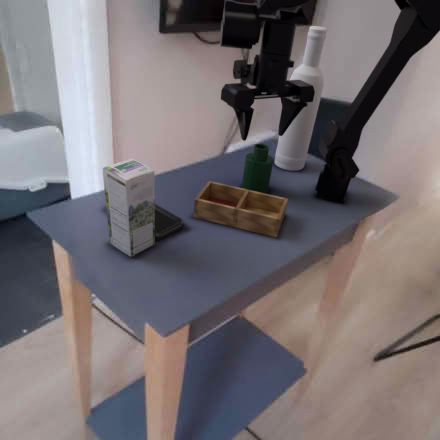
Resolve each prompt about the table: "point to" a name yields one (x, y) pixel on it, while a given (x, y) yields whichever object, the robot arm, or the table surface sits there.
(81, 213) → the table surface
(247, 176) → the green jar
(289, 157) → the bottle
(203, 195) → the wooden divided tray
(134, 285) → the table surface
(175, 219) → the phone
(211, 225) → the table surface
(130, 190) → the syrup box
